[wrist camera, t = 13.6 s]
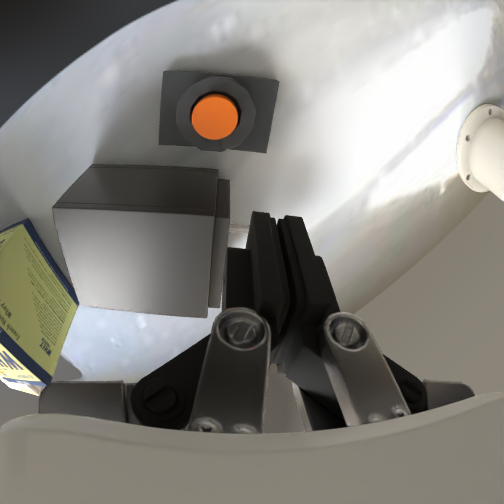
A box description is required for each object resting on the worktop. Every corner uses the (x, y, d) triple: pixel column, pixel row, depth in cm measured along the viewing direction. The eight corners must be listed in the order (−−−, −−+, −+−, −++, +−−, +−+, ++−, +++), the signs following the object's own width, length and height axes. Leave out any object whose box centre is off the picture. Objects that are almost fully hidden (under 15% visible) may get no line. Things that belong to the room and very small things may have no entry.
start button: (240, 96, 21) (241, 98, 20) (234, 136, 24) (234, 141, 22) (196, 92, 21) (193, 94, 19) (192, 132, 23) (189, 138, 22)
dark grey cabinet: (218, 169, 28) (215, 216, 21) (210, 259, 35) (207, 318, 28) (91, 164, 26) (51, 207, 19) (103, 251, 33) (79, 305, 26)
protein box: (27, 215, 29) (-37, 303, 16) (82, 299, 38) (52, 389, 26) (-11, 234, 29) (-64, 310, 17) (40, 307, 39) (9, 384, 27)
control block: (276, 80, 23) (282, 83, 21) (264, 148, 27) (268, 159, 25) (166, 70, 22) (158, 72, 19) (161, 140, 26) (154, 150, 23)
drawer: (271, 183, 29) (283, 222, 23) (255, 263, 35) (261, 310, 29) (108, 173, 26) (79, 208, 21) (117, 253, 33) (100, 297, 27)
